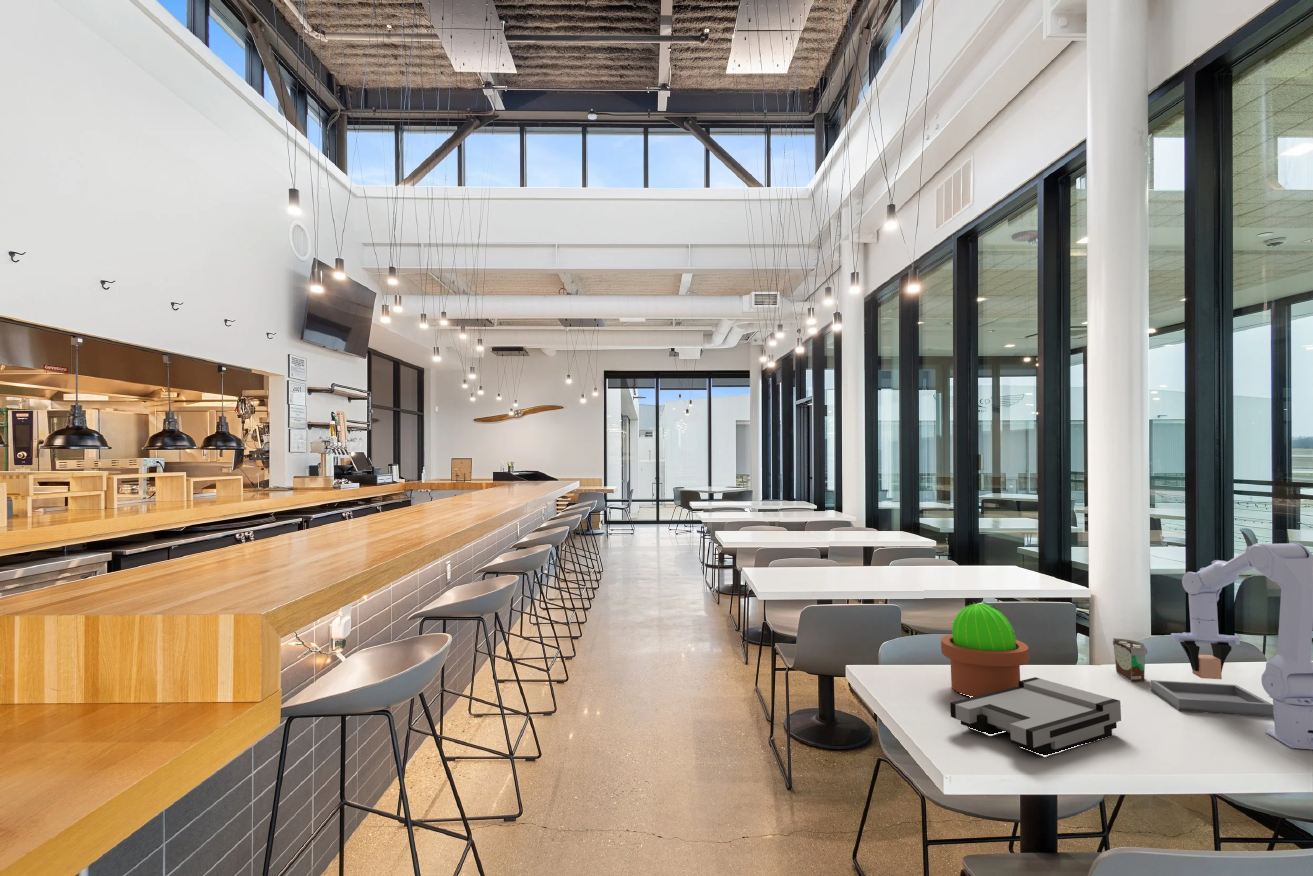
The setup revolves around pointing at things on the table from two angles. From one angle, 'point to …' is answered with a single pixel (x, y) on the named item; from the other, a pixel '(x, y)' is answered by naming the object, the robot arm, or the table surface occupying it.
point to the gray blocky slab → (1041, 715)
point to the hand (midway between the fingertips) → (1206, 670)
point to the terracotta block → (1208, 667)
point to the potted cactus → (983, 651)
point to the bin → (1211, 698)
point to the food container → (1130, 659)
